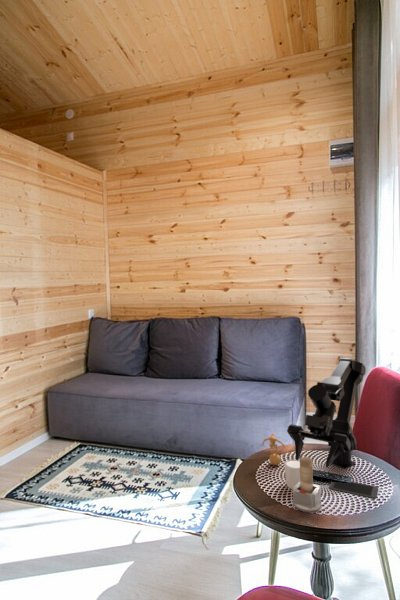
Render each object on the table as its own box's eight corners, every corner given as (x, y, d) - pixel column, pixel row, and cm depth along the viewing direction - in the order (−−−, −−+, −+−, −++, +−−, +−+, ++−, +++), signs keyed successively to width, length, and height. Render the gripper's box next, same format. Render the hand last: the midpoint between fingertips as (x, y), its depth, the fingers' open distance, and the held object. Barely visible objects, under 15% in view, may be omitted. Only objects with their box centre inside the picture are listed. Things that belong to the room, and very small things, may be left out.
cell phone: (376, 500, 122) (375, 498, 122) (328, 490, 129) (328, 487, 129) (378, 489, 128) (378, 486, 128) (333, 480, 135) (333, 477, 135)
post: (303, 495, 122) (302, 456, 122) (315, 498, 120) (314, 458, 120) (298, 500, 119) (297, 460, 119) (310, 504, 117) (309, 463, 117)
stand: (299, 495, 125) (299, 477, 125) (325, 502, 121) (324, 484, 120) (288, 506, 119) (288, 488, 119) (315, 515, 114) (314, 496, 114)
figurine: (287, 464, 147) (287, 431, 146) (284, 471, 141) (283, 437, 141) (265, 460, 150) (264, 428, 150) (260, 467, 145) (259, 434, 144)
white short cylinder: (307, 491, 128) (306, 469, 127) (284, 489, 129) (284, 468, 129) (305, 480, 134) (305, 459, 134) (284, 479, 136) (284, 458, 135)
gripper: (288, 399, 132) (274, 444, 123) (347, 408, 121) (335, 458, 112) (299, 416, 138) (285, 460, 130) (355, 427, 127) (345, 475, 119)
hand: (311, 463), depth 123 cm, fingers open, 9 cm apart
